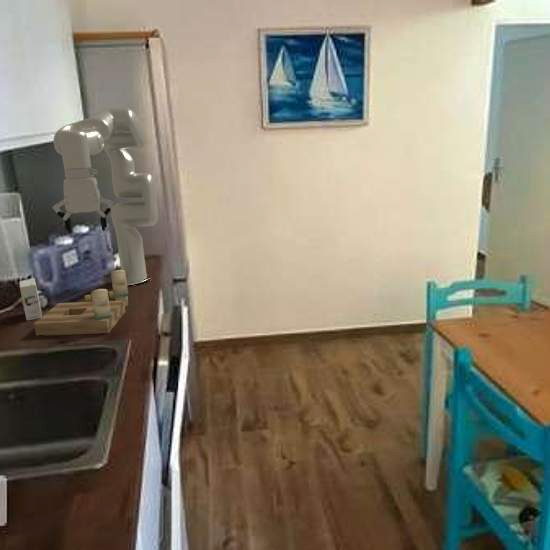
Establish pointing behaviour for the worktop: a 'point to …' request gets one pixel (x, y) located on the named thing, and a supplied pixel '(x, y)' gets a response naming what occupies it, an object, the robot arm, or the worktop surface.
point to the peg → (120, 286)
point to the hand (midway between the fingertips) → (87, 231)
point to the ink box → (30, 299)
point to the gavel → (110, 296)
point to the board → (82, 316)
